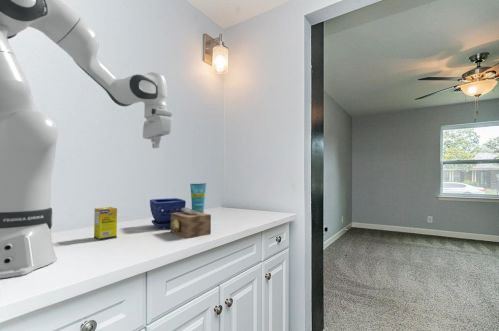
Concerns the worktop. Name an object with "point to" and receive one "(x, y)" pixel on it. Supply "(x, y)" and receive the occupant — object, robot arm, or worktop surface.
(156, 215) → the flower pot
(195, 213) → the keeper
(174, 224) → the pin
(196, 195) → the tube
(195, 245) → the worktop surface
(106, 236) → the supplement box
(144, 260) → the worktop surface
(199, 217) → the block
